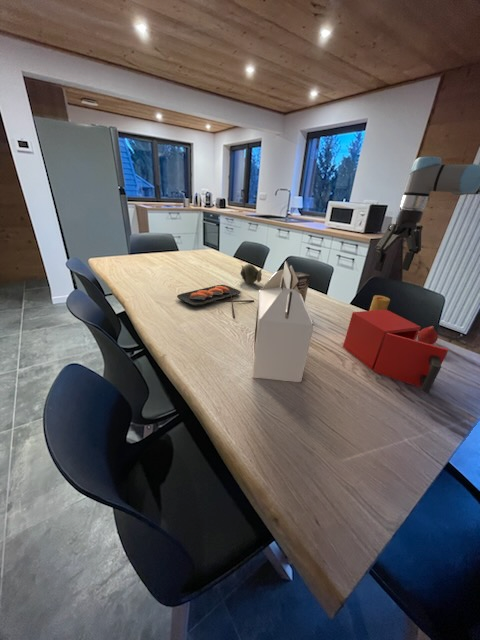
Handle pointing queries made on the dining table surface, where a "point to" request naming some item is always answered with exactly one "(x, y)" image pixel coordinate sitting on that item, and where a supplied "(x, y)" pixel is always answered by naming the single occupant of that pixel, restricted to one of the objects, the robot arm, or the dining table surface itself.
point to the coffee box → (302, 283)
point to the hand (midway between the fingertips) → (391, 270)
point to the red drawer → (410, 361)
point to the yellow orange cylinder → (379, 303)
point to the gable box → (281, 329)
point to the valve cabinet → (375, 333)
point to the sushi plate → (210, 295)
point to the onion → (428, 335)
